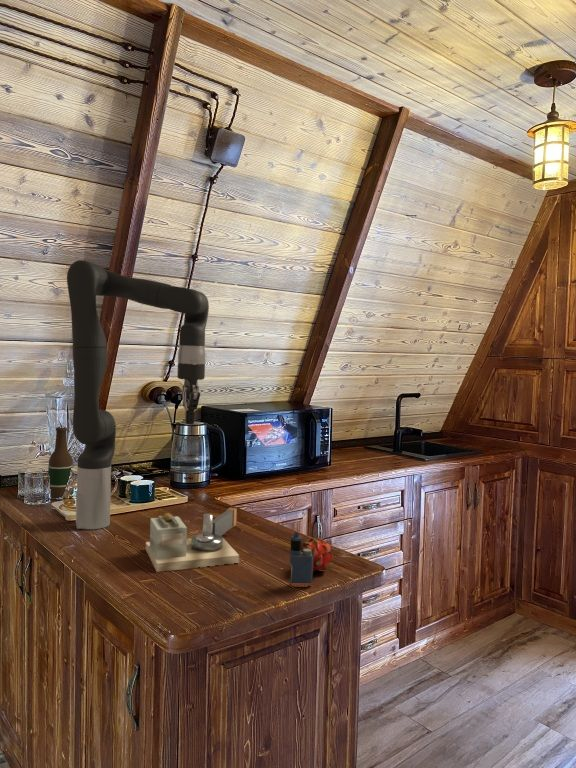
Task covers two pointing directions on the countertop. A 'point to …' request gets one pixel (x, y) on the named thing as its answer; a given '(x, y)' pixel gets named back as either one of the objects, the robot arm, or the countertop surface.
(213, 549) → the cam capstan
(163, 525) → the stand
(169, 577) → the countertop surface
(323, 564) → the dragon fruit
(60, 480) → the beer bottle
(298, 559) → the vaping device
